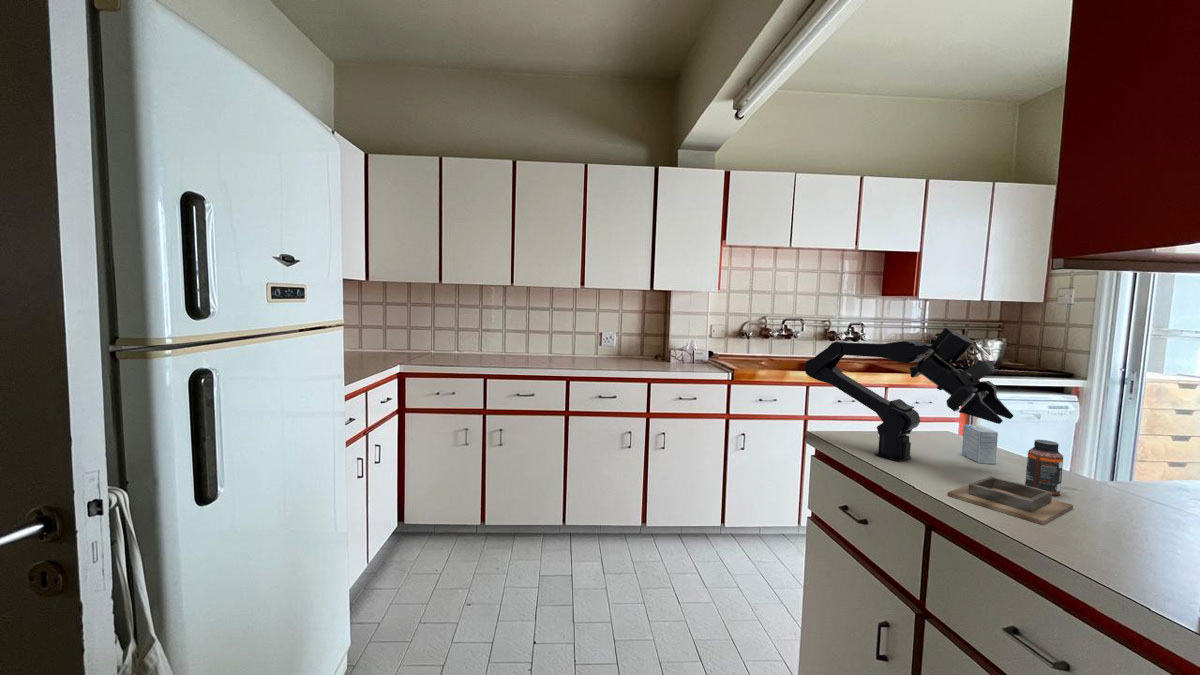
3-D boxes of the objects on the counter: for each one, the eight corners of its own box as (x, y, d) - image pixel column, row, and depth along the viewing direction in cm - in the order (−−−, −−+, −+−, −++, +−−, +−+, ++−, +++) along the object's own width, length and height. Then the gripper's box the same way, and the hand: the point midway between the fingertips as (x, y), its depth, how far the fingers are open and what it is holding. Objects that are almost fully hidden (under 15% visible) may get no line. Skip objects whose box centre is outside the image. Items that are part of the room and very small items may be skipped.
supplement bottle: (1067, 497, 109) (1073, 446, 108) (1040, 496, 109) (1044, 445, 108) (1044, 487, 114) (1048, 438, 114) (1017, 486, 115) (1022, 437, 114)
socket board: (947, 495, 107) (948, 481, 107) (980, 483, 115) (981, 470, 115) (1042, 525, 93) (1044, 509, 93) (1072, 508, 102) (1074, 494, 102)
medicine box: (996, 464, 130) (999, 432, 130) (977, 463, 131) (980, 431, 131) (978, 455, 138) (981, 425, 138) (961, 454, 139) (963, 423, 138)
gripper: (954, 351, 115) (1024, 398, 105) (979, 349, 127) (1043, 390, 117) (921, 387, 120) (985, 435, 111) (948, 382, 132) (1007, 424, 122)
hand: (1006, 419), depth 115 cm, fingers open, 9 cm apart
